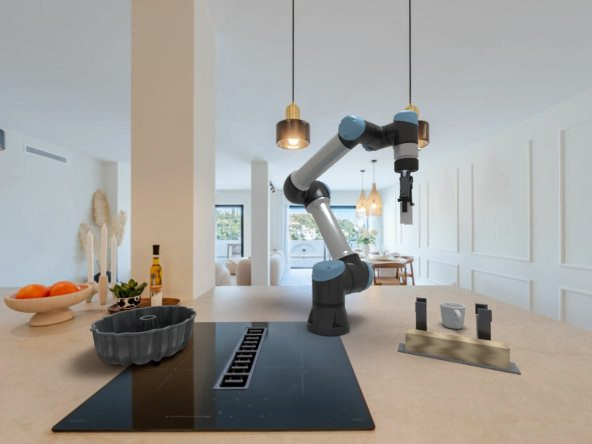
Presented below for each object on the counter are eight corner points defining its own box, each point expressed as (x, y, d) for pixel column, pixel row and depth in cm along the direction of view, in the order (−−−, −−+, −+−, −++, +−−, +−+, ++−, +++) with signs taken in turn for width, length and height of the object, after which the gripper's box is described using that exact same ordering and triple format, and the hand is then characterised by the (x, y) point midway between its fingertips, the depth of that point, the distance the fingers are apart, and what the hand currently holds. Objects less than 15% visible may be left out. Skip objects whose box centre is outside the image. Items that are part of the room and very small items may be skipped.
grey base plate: (397, 351, 78) (397, 349, 78) (399, 344, 83) (399, 342, 83) (521, 374, 65) (520, 372, 65) (514, 364, 70) (514, 362, 70)
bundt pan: (106, 340, 85) (107, 308, 85) (195, 330, 94) (196, 301, 95) (70, 385, 60) (72, 340, 61) (196, 365, 70) (197, 326, 70)
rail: (405, 350, 78) (405, 332, 78) (406, 345, 81) (406, 328, 81) (510, 369, 67) (509, 349, 67) (506, 362, 70) (505, 343, 71)
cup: (473, 334, 90) (472, 310, 91) (447, 333, 92) (446, 309, 92) (460, 323, 101) (460, 302, 101) (437, 322, 102) (437, 301, 103)
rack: (410, 345, 82) (409, 301, 82) (411, 336, 88) (411, 296, 89) (499, 360, 72) (498, 311, 73) (494, 350, 79) (493, 305, 79)
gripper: (416, 147, 76) (417, 222, 76) (420, 166, 99) (420, 224, 98) (388, 151, 80) (389, 223, 79) (398, 168, 102) (398, 224, 101)
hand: (406, 224), depth 89 cm, fingers open, 13 cm apart
